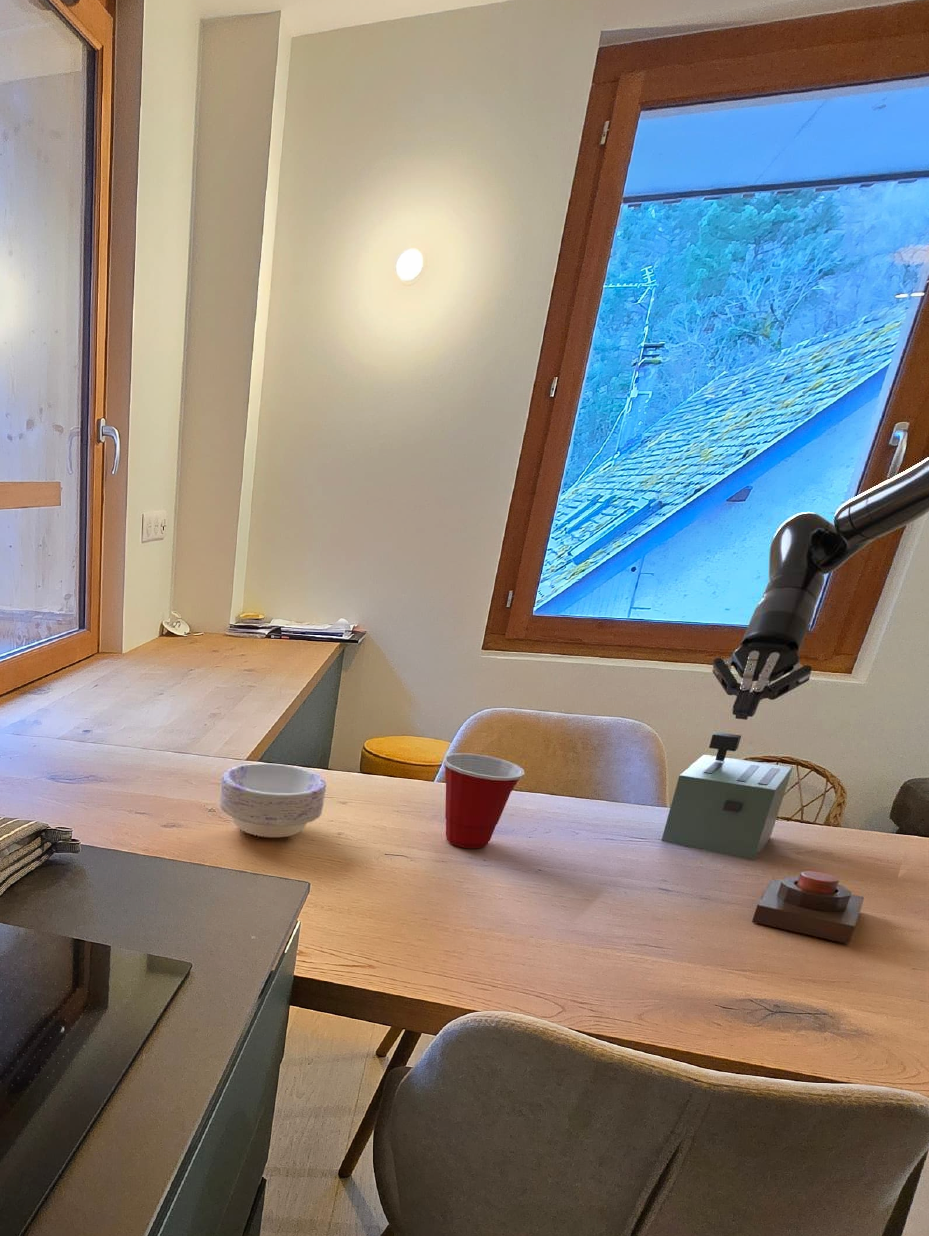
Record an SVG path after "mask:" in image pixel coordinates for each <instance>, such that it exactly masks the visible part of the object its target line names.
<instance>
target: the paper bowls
mask: <svg viewBox="0 0 929 1236" xmlns="http://www.w3.org/2000/svg"><path fill="white" fill-rule="evenodd" d="M220 780H221V782H220V796H219V806H220V807H219V808H220V809H221V810H222V811H223V813H224V814H226V815H228V816H230V817H231V819H232V821H233V823H234V825H235V826H236V827H237V828H238V829H239V830H240V831H242V832H244V831H245V832H244V833H246V834H250V835H252V834H253V836H256V835H257V836H256V837H262V838H286V837H290V836H294V835H296V834H298V833H300V832H301V831H302V830H304V828H306V826H307V824H308V823H311V822H314V821H316V820H317V819H319V818H320V817H321V816H322V813H323V807H324V803H325V801H324V800H325V795H326V789H327V784H326V781H325V779H324V778H323V777H322V776H321V775H320V774H317V773H316V772H314V771H312V770H308V769H305V768H302V767H298V766H294V765H287V764H282V763H281V764H280V763H270V762H269V763H268V762H267V763H266V762H265V763H264V762H263V763H260V762H259V763H258V762H257V763H246V764H241V765H236V766H233V767H230V768H229V769H227V770H226V771H224V772H223V773H222V776H221V779H220Z"/></svg>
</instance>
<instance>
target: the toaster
mask: <svg viewBox="0 0 929 1236" xmlns="http://www.w3.org/2000/svg"><path fill="white" fill-rule="evenodd" d="M716 756H717V755H710V754H703V755H702V756H700V757H699V758H698V759H696V761H694V762H693V763H692V764H691V765H690V766H689V767H687V768H686V769H685V770H683V772H681V773H680V774H679V775H678V778H677V782H676V786H675V788H674V789H675V790H674V793H673V796H672V801H671V804H670V808H669V812H668V814H667V819H666V822H665V825H664V829H663V833H662V837H661V840H660V841H661V842H664V843H669V844H673V845H677V846H678V845H679V846H684V847H688V848H692V849H697V850H702V851H707V852H711V853H715V854H721V855H724V856H730V857H734V858H738V859H744V860H748V861H754V860H755V859H756V857H757V855H758V854H759V852H762V851H763V850H764V849H765V847H766V846H767V844H768V842H769V841H768V840H770V839H771V837H770V836H772V833H773V831H774V827H775V824H776V821H777V818H778V815H779V812H780V810H781V805H782V802H783V799H784V796H785V793H786V790H787V787H788V783H789V781H790V778H791V774H792V772H793V766H788V765H780V764H774V763H766V762H761V761H751V760H745V759H739V758H738V759H737V758H731V757H725V760H724V761H719V760H715V759H716ZM769 838H770V839H769ZM767 841H768V842H767ZM766 843H767V844H766ZM765 845H766V846H765ZM764 846H765V847H764Z"/></svg>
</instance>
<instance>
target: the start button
mask: <svg viewBox="0 0 929 1236" xmlns="http://www.w3.org/2000/svg"><path fill="white" fill-rule="evenodd" d="M798 877H799V880H798V882H797V885H796V886H798V887H800V888H803V889H806V890H809V891H814V892H819V893H830V894H833V893H835V891H836V888H837V885H839V882H840V879H839V878H838V877H837V876H836V875H833V874H831V873H830V874H829V873H827V872H826V873H825V872H821V871H816V870H815V871H814V870H805V871H801V872H800V874H799V876H798Z"/></svg>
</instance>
